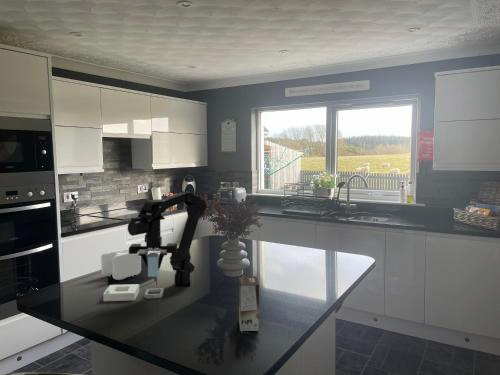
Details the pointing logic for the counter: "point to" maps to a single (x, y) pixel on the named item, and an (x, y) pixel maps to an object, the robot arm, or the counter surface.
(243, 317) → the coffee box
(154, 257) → the plug
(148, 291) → the gray square frame
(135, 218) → the robot arm
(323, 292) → the counter surface
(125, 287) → the port panel
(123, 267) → the cable organizer
